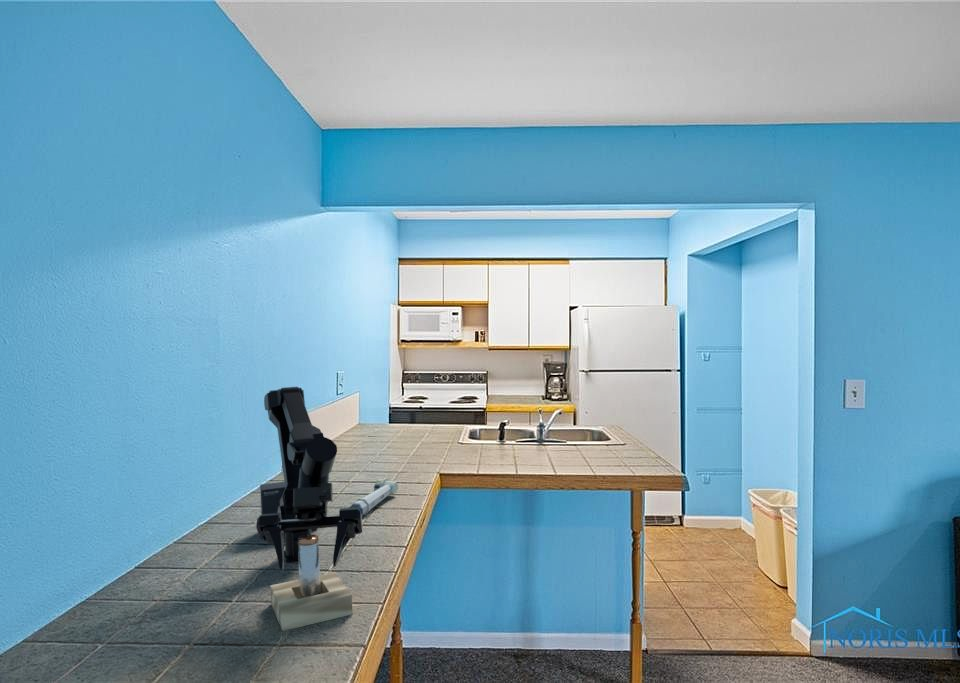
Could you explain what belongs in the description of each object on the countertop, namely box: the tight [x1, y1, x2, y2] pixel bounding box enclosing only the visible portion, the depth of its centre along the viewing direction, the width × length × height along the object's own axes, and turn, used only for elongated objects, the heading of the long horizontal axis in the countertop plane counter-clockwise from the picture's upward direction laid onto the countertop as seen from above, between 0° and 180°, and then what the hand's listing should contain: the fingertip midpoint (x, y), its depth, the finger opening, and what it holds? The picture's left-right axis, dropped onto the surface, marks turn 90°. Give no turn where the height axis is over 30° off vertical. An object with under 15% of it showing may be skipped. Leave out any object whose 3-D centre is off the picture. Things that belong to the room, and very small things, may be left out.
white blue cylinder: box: [349, 477, 399, 516], centre depth 180 cm, size 5×7×25 cm
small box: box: [259, 481, 319, 536], centre depth 160 cm, size 13×7×12 cm, turn 111°
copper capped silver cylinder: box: [298, 534, 321, 599], centre depth 114 cm, size 4×4×13 cm
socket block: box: [269, 571, 353, 632], centre depth 114 cm, size 12×12×4 cm
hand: (308, 567), depth 113 cm, fingers open, 9 cm apart
